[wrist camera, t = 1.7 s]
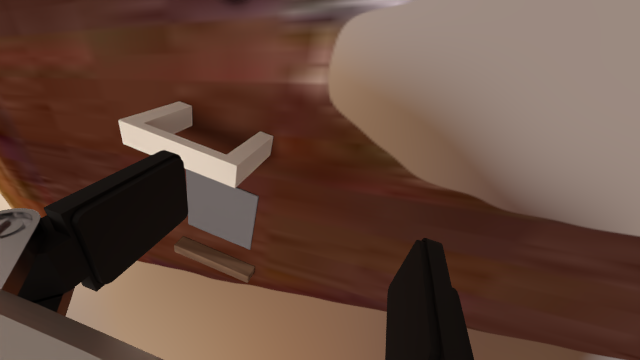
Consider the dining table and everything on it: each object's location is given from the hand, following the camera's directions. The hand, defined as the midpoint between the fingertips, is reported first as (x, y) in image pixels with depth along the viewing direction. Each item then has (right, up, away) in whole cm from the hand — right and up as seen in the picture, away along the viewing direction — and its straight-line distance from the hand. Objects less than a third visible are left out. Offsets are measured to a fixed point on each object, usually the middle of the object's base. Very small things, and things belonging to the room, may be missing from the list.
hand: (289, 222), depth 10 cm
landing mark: (-16, -4, +34) cm, 38 cm away
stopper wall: (-19, -13, +41) cm, 47 cm away
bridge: (-12, +9, +26) cm, 30 cm away
